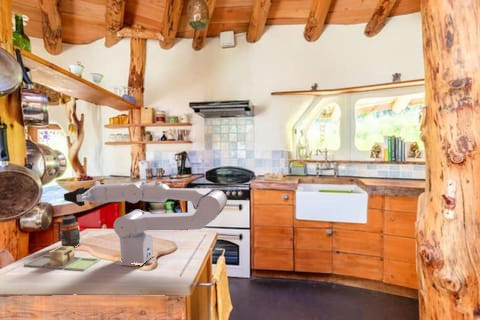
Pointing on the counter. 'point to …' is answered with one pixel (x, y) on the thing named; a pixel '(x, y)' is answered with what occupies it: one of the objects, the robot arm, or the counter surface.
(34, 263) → the far dish
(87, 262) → the green dish
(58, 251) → the letter block
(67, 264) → the middle dish
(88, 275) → the counter surface
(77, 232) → the supplement bottle
